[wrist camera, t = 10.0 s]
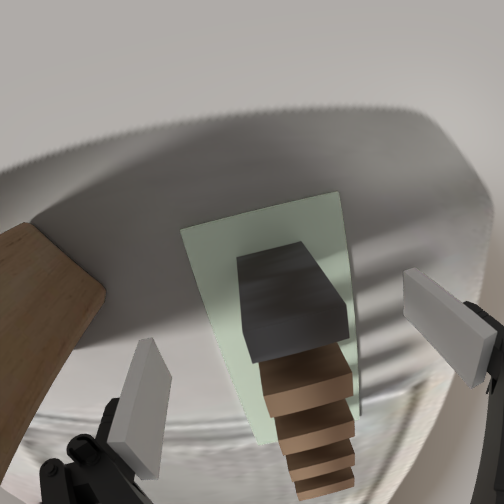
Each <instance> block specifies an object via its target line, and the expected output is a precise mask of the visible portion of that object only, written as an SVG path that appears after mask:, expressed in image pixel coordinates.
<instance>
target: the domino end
mask: <svg viewBox="0 0 504 504" xmlns="http://www.w3.org/2000/svg"><path fill="white" fill-rule="evenodd" d="M294 483H295V488H296V493H297V496H298V499H299V501H302V500H306V499H311V498H315V497H319V496H323V495H326V494H330V493H334V492H337V491H341V490H344V489H347V488H351V487H354V475H353V472H352V469H351V467H347V468H344V469H341V470H337V471H334V472H330V473H327V474H323V475H319V476H316V477H312V478H307V479H303V480H299V481H294Z"/></svg>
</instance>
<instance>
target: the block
mask: <svg viewBox="0 0 504 504" xmlns="http://www.w3.org/2000/svg"><path fill="white" fill-rule="evenodd" d="M105 295H106V290H105V289H104V287H103V286H102V284H100V283H99V282H98V281H97V280H95V279H94V278H93V277H92V276H90V275H89V274H88V273H87V272H86V271H84V270H83V269H82V268H81V267H80V266H78V265H77V264H76V263H75V262H74V261H73V260H71V259H70V258H69V257H68V256H67V255H66V254H64V253H63V252H62V251H61V250H60V249H59V248H58V247H57V246H55V245H54V244H53V243H52V242H51V241H50V240H49V239H48V238H47V237H45V236H44V235H43V234H42V233H41V232H40V231H39V230H38V229H37V228H36V227H35V226H34V225H32V224H29V223H25V222H24V223H22V224H19V225H17V226H16V227H14V228H12V229H10V230H8V231H6V232H4V233H2V234H0V485H1V482H2V480H3V478H4V476H5V473H6V471H7V469H8V467H9V465H10V463H11V461H12V458H13V456H14V454H15V452H16V450H17V448H18V446H19V444H20V442H21V440H22V438H23V436H24V434H25V432H26V430H27V428H28V427H29V425H30V423H31V421H32V419H33V417H34V415H35V414H36V412H37V410H38V408H39V406H40V404H41V403H42V401H43V399H44V397H45V396H46V394H47V392H48V390H49V389H50V387H51V385H52V383H53V382H54V380H55V378H56V377H57V375H58V373H59V372H60V370H61V368H62V367H63V365H64V363H65V362H66V360H67V359H68V357H69V355H70V354H71V352H72V351H73V349H74V347H75V346H76V344H77V343H78V341H79V339H80V338H81V336H82V335H83V333H84V332H85V330H86V329H87V327H88V326H89V324H90V323H91V321H92V320H93V318H94V317H95V315H96V314H97V312H98V311H99V309H100V308H101V306H102V305H103V303H104V302H105Z"/></svg>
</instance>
